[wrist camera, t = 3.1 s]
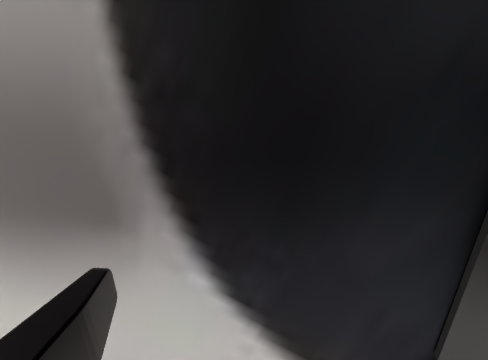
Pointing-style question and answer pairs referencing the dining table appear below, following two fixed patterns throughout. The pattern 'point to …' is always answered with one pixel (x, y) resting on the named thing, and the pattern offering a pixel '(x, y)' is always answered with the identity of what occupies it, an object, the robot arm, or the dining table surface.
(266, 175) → the dining table surface
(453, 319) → the channel
